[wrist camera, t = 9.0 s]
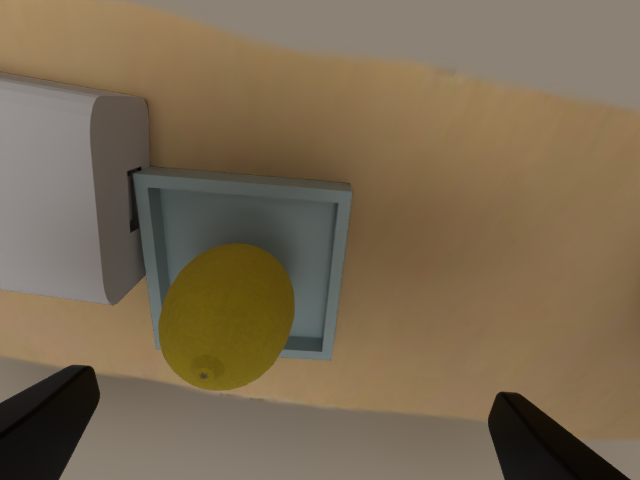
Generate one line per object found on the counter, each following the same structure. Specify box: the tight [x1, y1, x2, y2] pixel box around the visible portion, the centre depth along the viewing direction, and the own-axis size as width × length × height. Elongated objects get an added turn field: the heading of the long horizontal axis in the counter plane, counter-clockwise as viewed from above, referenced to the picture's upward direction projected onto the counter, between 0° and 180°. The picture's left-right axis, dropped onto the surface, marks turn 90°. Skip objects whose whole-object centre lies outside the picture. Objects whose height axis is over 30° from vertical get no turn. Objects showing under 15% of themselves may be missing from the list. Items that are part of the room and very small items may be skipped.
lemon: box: [158, 243, 295, 391], centre depth 15 cm, size 6×6×8 cm
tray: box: [133, 167, 353, 361], centre depth 18 cm, size 10×10×2 cm
